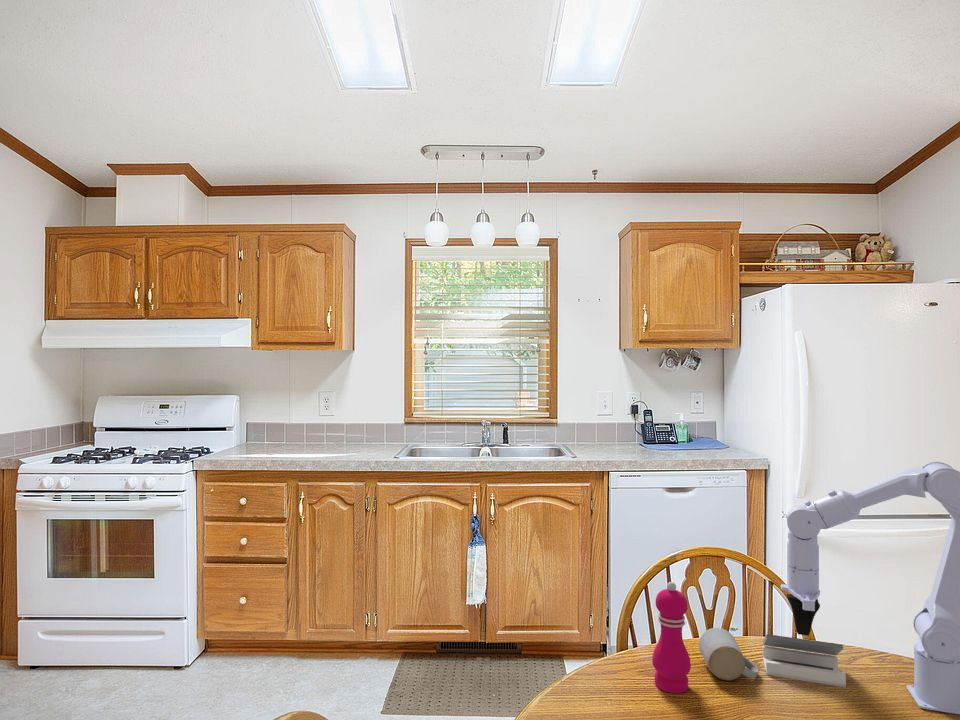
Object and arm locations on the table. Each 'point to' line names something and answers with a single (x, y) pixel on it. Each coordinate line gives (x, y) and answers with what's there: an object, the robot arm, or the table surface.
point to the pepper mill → (671, 642)
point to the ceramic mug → (725, 655)
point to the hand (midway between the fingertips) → (802, 633)
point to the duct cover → (802, 644)
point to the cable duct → (803, 666)
